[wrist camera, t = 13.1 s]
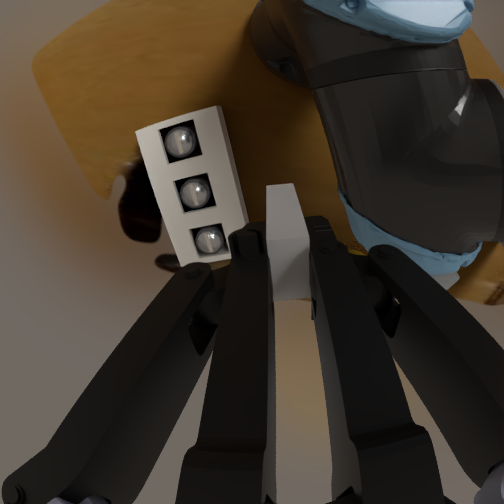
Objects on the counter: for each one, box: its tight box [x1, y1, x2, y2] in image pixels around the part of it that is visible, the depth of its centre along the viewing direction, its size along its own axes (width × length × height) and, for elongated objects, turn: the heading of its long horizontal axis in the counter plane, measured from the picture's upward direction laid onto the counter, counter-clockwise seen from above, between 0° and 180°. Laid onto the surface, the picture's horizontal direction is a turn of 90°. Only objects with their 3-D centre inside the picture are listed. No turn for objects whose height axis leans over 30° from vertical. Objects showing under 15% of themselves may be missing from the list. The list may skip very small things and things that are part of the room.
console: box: [135, 106, 249, 267], centre depth 34 cm, size 19×10×4 cm, turn 12°
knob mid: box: [180, 173, 213, 208], centre depth 33 cm, size 4×4×4 cm
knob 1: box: [165, 125, 200, 157], centre depth 30 cm, size 4×4×4 cm
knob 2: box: [195, 223, 225, 254], centre depth 36 cm, size 4×4×4 cm
